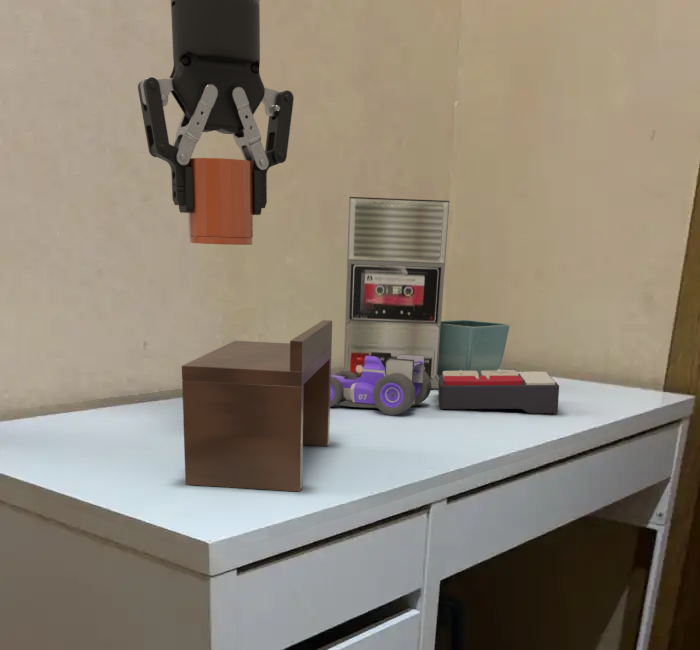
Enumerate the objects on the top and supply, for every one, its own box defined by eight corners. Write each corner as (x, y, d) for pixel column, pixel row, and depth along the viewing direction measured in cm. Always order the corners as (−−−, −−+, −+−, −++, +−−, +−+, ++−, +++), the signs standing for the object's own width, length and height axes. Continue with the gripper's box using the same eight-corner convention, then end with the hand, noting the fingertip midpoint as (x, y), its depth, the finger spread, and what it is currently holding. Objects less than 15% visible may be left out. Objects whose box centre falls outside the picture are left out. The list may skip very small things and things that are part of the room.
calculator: (438, 368, 129) (549, 367, 128) (438, 400, 130) (547, 399, 129) (440, 380, 119) (560, 379, 118) (439, 414, 120) (558, 413, 119)
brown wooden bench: (185, 484, 81) (180, 335, 76) (235, 438, 99) (234, 315, 94) (300, 491, 80) (302, 341, 75) (329, 443, 98) (332, 320, 93)
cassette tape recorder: (342, 386, 135) (348, 196, 125) (342, 380, 141) (348, 198, 131) (437, 390, 135) (451, 200, 126) (433, 383, 141) (446, 202, 131)
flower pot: (422, 383, 141) (426, 320, 137) (461, 379, 146) (466, 319, 143) (466, 391, 135) (471, 326, 131) (505, 386, 140) (511, 324, 137)
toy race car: (323, 395, 127) (325, 345, 124) (430, 405, 122) (433, 354, 120) (296, 405, 119) (296, 352, 116) (408, 417, 114) (412, 362, 112)
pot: (182, 243, 85) (179, 157, 82) (197, 242, 90) (195, 161, 87) (246, 245, 84) (244, 158, 82) (257, 244, 90) (256, 163, 87)
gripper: (276, 17, 86) (276, 216, 92) (120, -4, 80) (132, 211, 86) (310, 2, 80) (308, 216, 86) (144, -23, 74) (155, 210, 80)
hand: (220, 213), depth 86 cm, fingers closed on pot, 6 cm apart
